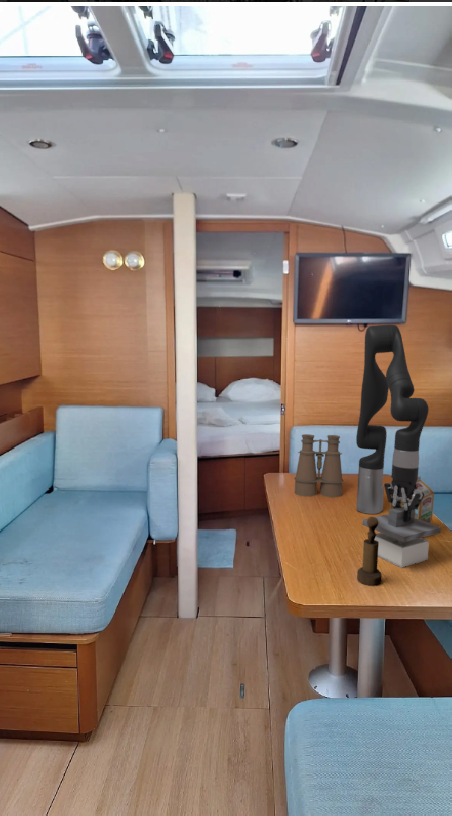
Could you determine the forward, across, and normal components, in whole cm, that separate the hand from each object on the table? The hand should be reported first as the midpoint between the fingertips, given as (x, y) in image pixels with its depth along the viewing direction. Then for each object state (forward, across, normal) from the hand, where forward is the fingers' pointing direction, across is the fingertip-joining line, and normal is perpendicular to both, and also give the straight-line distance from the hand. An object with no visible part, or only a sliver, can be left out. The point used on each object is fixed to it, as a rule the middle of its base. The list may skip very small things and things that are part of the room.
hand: (401, 519), depth 161 cm
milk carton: (+12, +13, -20) cm, 27 cm away
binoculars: (+12, +62, -21) cm, 67 cm away
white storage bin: (+12, 0, 0) cm, 12 cm away
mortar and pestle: (+12, -7, +20) cm, 24 cm away
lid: (+3, 0, 0) cm, 3 cm away
